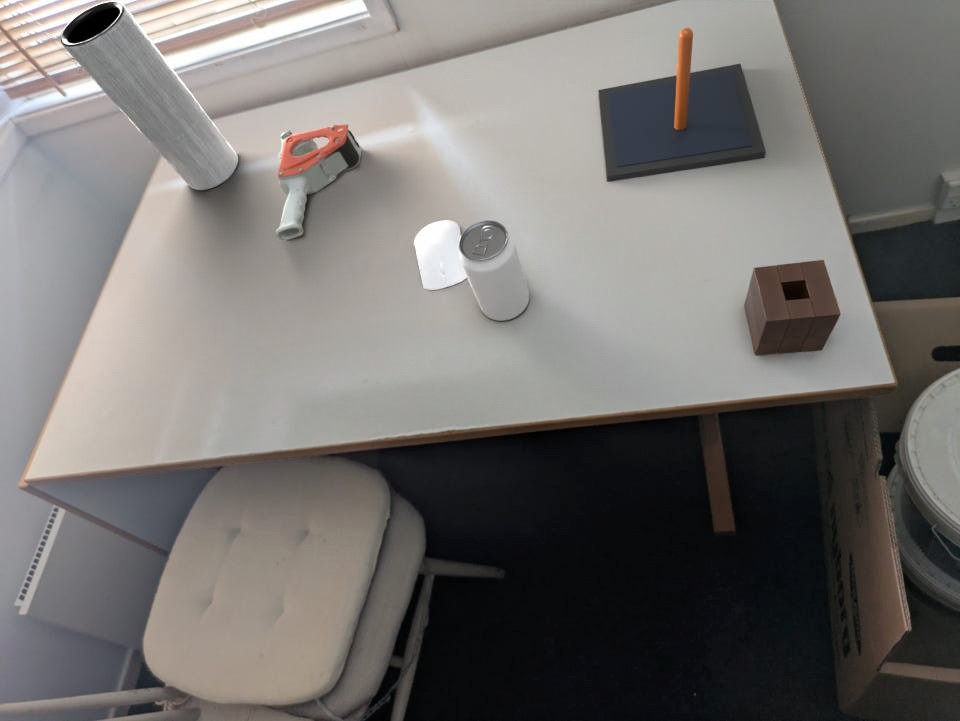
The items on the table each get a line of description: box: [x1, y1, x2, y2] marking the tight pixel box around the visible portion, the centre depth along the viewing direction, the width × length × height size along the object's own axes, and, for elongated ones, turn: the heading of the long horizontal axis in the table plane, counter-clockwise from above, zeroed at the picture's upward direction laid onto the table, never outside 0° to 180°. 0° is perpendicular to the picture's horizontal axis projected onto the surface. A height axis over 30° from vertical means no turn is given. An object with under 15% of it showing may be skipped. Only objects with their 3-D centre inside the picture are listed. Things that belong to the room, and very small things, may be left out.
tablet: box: [597, 63, 767, 182], centre depth 82 cm, size 20×18×1 cm
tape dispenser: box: [274, 124, 363, 241], centre depth 93 cm, size 18×5×20 cm
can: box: [459, 219, 530, 322], centre depth 70 cm, size 6×6×12 cm
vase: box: [60, 0, 239, 191], centre depth 92 cm, size 10×10×27 cm
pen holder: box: [743, 259, 841, 356], centre depth 61 cm, size 7×7×7 cm
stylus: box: [674, 27, 694, 130], centre depth 75 cm, size 2×2×14 cm
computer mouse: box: [413, 219, 468, 291], centre depth 80 cm, size 7×12×2 cm, turn 10°
